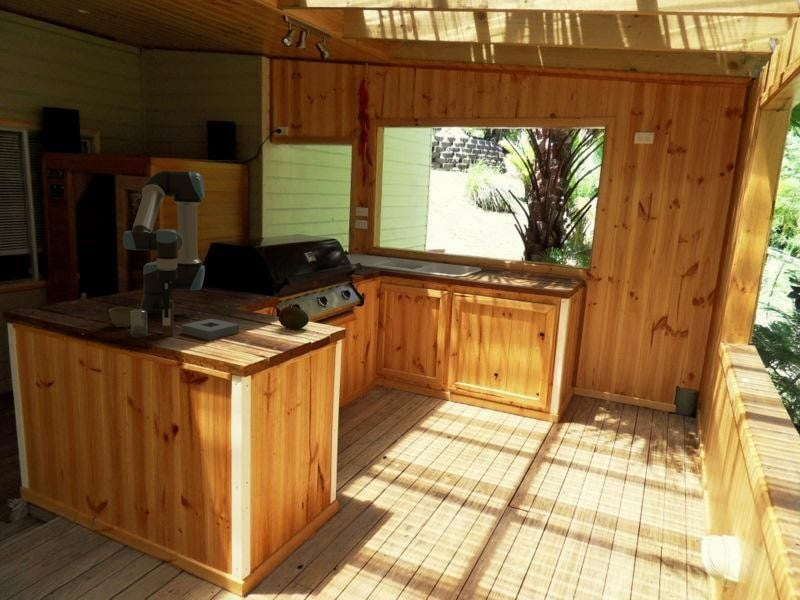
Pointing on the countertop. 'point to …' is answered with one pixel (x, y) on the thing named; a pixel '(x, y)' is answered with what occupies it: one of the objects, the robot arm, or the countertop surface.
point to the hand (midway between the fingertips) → (167, 321)
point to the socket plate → (210, 329)
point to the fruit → (293, 318)
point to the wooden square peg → (170, 329)
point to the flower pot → (121, 316)
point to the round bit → (138, 323)
